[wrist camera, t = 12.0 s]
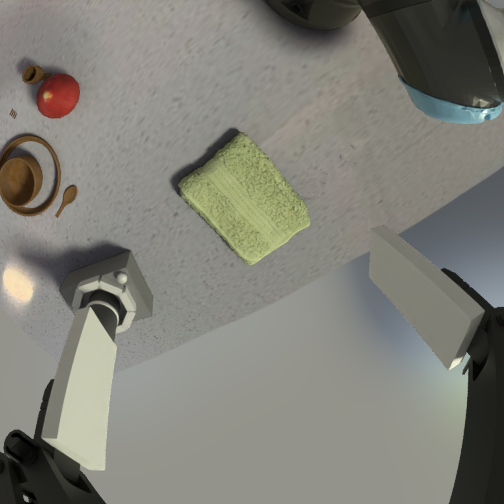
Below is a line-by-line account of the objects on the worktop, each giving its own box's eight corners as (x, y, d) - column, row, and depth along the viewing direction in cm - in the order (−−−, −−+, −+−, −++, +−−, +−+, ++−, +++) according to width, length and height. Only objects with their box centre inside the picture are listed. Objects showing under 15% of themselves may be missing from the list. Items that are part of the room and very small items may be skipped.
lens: (88, 314, 39) (70, 380, 27) (88, 286, 37) (65, 352, 25) (120, 320, 40) (110, 387, 29) (122, 292, 38) (108, 360, 27)
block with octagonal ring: (93, 315, 44) (86, 340, 39) (67, 272, 40) (55, 295, 34) (153, 297, 46) (152, 323, 40) (130, 249, 41) (124, 271, 35)
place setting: (-19, 172, 29) (-39, 183, 24) (46, 62, 25) (28, 57, 20) (51, 236, 37) (37, 254, 32) (126, 131, 34) (118, 135, 29)
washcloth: (248, 264, 48) (253, 275, 45) (172, 186, 39) (171, 192, 36) (311, 213, 46) (320, 221, 43) (245, 124, 37) (250, 126, 34)
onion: (43, 108, 28) (16, 111, 21) (62, 71, 26) (37, 64, 20) (74, 123, 31) (51, 127, 24) (94, 84, 29) (74, 79, 22)
